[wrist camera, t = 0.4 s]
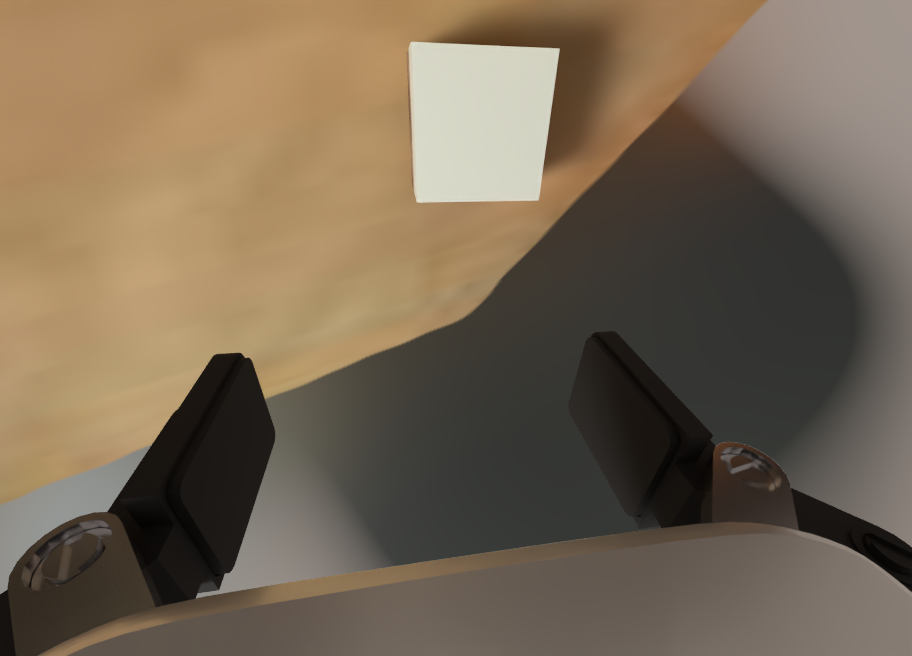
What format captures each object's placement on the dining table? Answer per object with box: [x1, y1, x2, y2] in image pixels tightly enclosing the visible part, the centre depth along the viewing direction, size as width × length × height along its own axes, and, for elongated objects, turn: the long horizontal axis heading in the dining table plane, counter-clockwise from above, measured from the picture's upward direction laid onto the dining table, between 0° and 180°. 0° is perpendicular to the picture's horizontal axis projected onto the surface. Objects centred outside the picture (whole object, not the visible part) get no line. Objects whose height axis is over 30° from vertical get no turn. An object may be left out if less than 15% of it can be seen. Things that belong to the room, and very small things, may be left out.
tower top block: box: [409, 42, 560, 202], centre depth 29 cm, size 10×10×4 cm
